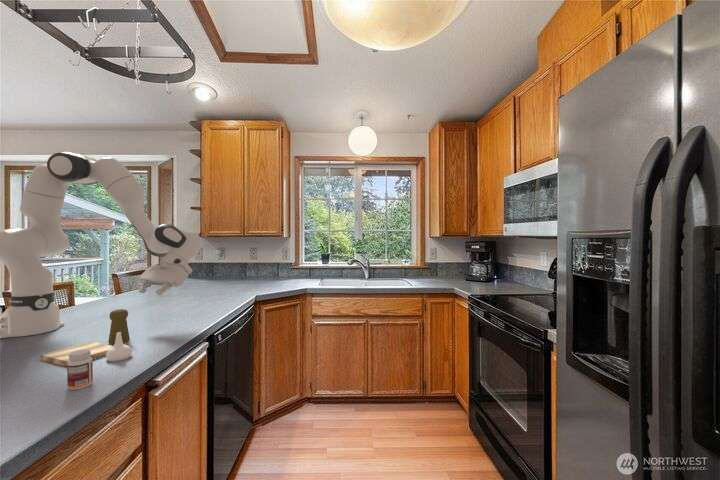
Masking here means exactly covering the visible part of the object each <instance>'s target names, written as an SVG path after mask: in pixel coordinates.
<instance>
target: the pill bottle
mask: <svg viewBox="0 0 720 480" xmlns="http://www.w3.org/2000/svg"><path fill="white" fill-rule="evenodd" d="M90 356H91V352H90V350H89V349H82V350H77V351H73V352H71V353H70V354H69V360H70V361H69V362H68V363H67V367H66V368H67V369H66V371H67V376H66V378H67V390H69V391H70V390H71V391H77V390H81V389H85V388H87V387H89V386H91V385H92V384H93V382H94V379H93V377H94V376H93V375H94V373H93V370H94V369H93V367H94V365H93V360H92V358H91V357H90Z"/></svg>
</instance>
